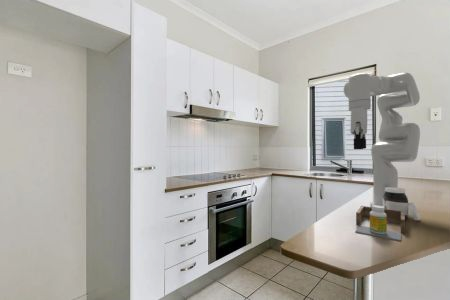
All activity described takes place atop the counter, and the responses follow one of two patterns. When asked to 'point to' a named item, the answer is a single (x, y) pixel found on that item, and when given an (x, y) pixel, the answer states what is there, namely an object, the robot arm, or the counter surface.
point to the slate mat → (388, 235)
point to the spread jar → (399, 201)
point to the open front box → (391, 214)
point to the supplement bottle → (378, 220)
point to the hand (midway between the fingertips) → (360, 148)
